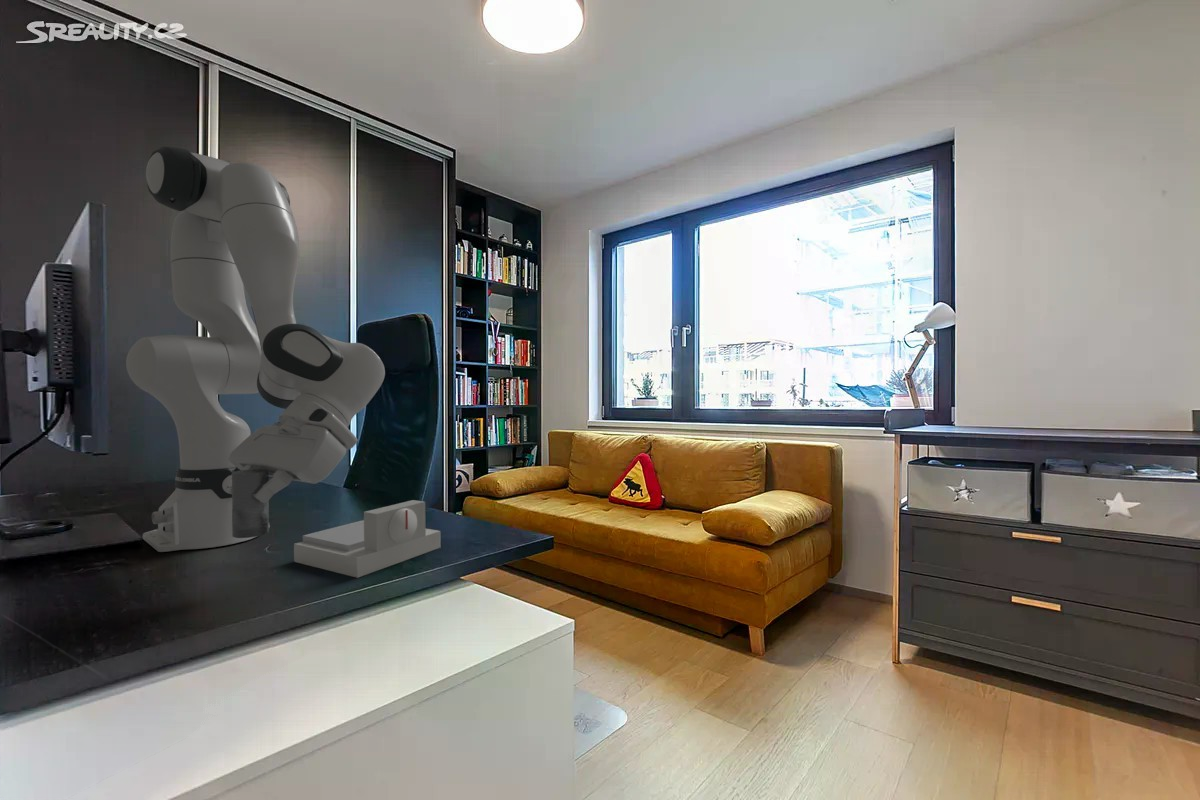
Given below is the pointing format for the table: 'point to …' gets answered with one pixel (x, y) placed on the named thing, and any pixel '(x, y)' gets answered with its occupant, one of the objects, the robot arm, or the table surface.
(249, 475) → the cylinder
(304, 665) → the table surface
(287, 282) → the robot arm
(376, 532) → the kitchen scale
